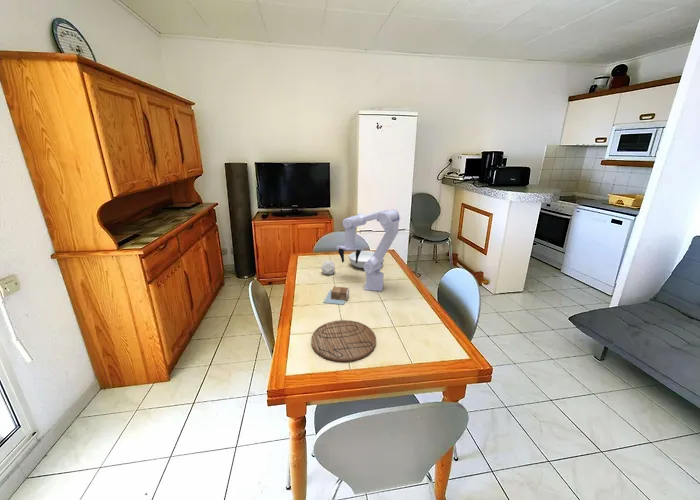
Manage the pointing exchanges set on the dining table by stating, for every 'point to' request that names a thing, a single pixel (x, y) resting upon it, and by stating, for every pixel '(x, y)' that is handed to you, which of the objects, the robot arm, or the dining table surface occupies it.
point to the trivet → (343, 341)
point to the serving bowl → (360, 258)
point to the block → (340, 293)
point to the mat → (333, 300)
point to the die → (328, 267)
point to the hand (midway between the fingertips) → (349, 262)
